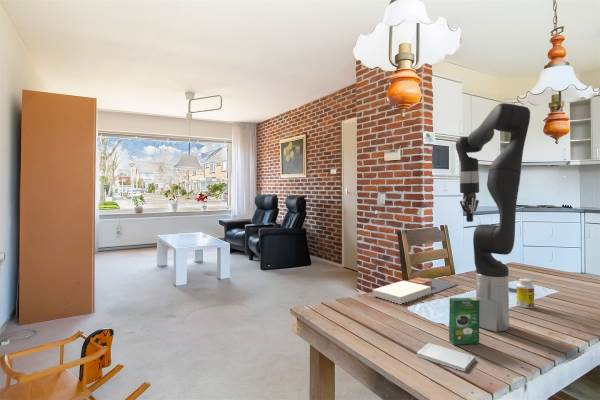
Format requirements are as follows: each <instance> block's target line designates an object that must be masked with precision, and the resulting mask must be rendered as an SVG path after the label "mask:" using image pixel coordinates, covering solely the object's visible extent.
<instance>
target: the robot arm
mask: <svg viewBox="0 0 600 400" xmlns="http://www.w3.org/2000/svg"><path fill="white" fill-rule="evenodd" d="M530 120H531V111H530V108H529V107H527V106H524V105H519V104H512V103H503V102H502V103H499V104H497V105H496V106H495V107H494V108H493V109H491V111H490V112H489V114H488V115H487V116H486V117H485V118H484V120H482V122H481V124H480V125H479V126H478V127H477V128H475V129H474V130H473V131H472V132H471V133H469V134H468V136H460V137H459V138H457V139H456V142H455V150H456V152H457V155H458V159H459V163H460V165H459V166H460V168H459V169H460V173H459V193H460V194H462V195H463V196H462V200H459V203H460V206H461V209H462V211H463V213H465V214H466V216H465V217H466V219H465V220H466V222H467V223H473V222H474V213H475V212H476V211H477V208H478V205H479V202H480V200H479V199H477V195H476V194H479V193H480V174H479V160H478V158H476V157H471V156H469V155H468V154H470V153H473V154H474V153H479V152H480V151H482V150H483V148H484V146H485V145H486V144H487V143H489V142H490V141H492V140H493V138H494V135H495V131H498V132H504V133H510V139H509V142H508V145H507V146H506V147H505V149H504V150H503V151H502V152H501V153H500V154H498V156H496V158H495V159H494V160H493V161H492V163H491V164H490V166H489V169H488V172H487V173H488V174H487V181H486V187H487V191H488V192H489V195H490V197H491V198H492V200H493V202H494V204H495V205H496V207H497V209H498V212H499V213H498V214H499V225H498V224H478V225H477V226H476V227H475V229H474V231H473V237H472V241H473V242H472V243H473V259H474V266H475V278H476V279H475V280H476V281H475V290H476V291H475V294H476V296H475V298H476V299H478V300H479V301H480V305H479V306H480V307H479V328H481V329H484V330H488V331H492V332H495V333H497V332H504V331H508V330H509V329H510V313H509V312H510V304H509V303H510V302H509V301H510V300H509V298H510V297H509V296H510V295H509V292H510V291H509V290H510V288H509V285H510V284H509V277H510V275H509V271H510V270H509V267H508V265H506V264H504V263H503V262H502V261H501V262H502V263H501V262H499V261H500V260H498V259H496V258H495V257H494V256H493V254H495V255H502V256H503V255H504V256H507V255H509V254H510V253H512V252H513V250H514V246H515V239H516V236H515V235H516V215H517V213H516V212H517V203H518V194H519V188H520V182H521V175H522V173H521V172H522V161H523V155H524V154H523V153H524V148H525V143H526V138H527V135H528V130H529V126H530Z"/></svg>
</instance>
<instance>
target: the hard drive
mask: <svg viewBox="0 0 600 400" xmlns="http://www.w3.org/2000/svg"><path fill="white" fill-rule="evenodd" d="M416 357H417V358H421V359H424V360H427V361H430V362H433V363H436V364H438V363H440V364H439V365H441V364H442V366H444V365H446V366H445V367H447V366H449V367H448V368H450V367H451V368H450V369H453V368H454V370H456V369H458V370H457V371H459V370H461V371H460V372H462V371H466V370H467V369H468V370H469V368H470V367H471V366H472V365H473V364H474V363H475V362H476V356H474V355H470V354H467V353H463V352H460V351H457V350H455V349H451V348H447V347H444V346H440V345H437V344H434V343H431V342H428V343H427V344H425V345H424V346H423V347H421V349H419V350H418V351H417V352H416ZM472 363H473V364H472ZM471 364H472V365H471ZM470 365H471V366H470ZM469 366H470V367H469ZM468 370H467V371H468ZM467 371H466V372H467Z"/></svg>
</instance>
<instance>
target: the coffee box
mask: <svg viewBox="0 0 600 400" xmlns="http://www.w3.org/2000/svg"><path fill="white" fill-rule="evenodd" d="M479 305H480V301H479V300H478V299H476V297H449V315H448V316H449V318H448V320H449V323H448V330H449V331H448V336H449V337H448V341H449V343H451V344H452V345H454V346H455V345H456V346H458V345H459V346H460V345H476V344H480V327H479V307H480V306H479Z"/></svg>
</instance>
